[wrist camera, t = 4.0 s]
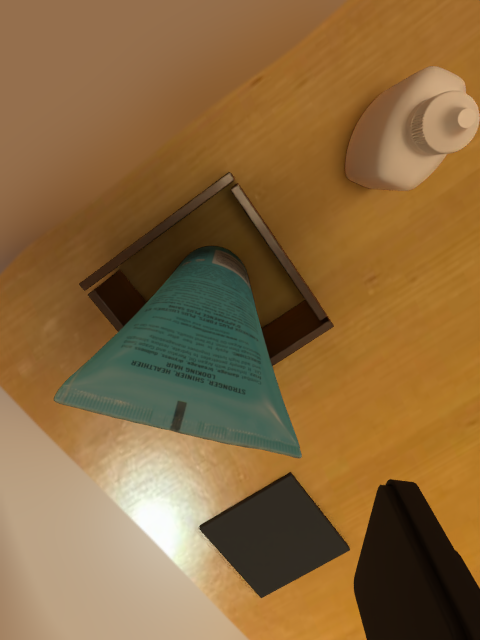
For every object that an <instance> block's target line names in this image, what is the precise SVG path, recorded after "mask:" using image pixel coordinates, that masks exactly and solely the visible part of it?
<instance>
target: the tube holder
mask: <svg viewBox="0 0 480 640" xmlns="http://www.w3.org/2000/svg"><path fill="white" fill-rule="evenodd" d="M234 180H235V178H234V176H233V175H232V173H230V172H228V173H227V174H226V175H224V176H223V177H222V178H220V179H219V180H218V181H216V182H215V183H214V184H212V185H211V186H210V187H208V188H207V189H206V190H204V191H203V192H202V193H200V194H199V195H198V196H196V197H195V198H193V199H192V200H191V201H189V202H188V203H187V204H185V205H184V206H183V207H181V208H180V209H179V210H177V211H176V212H175V213H173V214H172V215H171V216H169V217H168V218H167V219H165V220H164V221H163V222H161V223H160V224H159V225H157V226H156V227H155V228H153V229H152V230H151V231H149V232H148V233H147V234H145V235H144V236H142V237H141V238H140V239H138V240H137V241H136V242H134V243H133V244H132V245H130V246H129V247H128V248H126V249H125V250H124V251H122V252H121V253H120V254H118V255H117V256H116V257H114V258H113V259H112V260H110V261H109V262H108V263H106V264H105V265H104V266H102V267H101V268H100V269H98V270H97V271H95V272H94V273H93V274H91V275H90V276H89V277H87V278H86V279H85V280H83V281H82V282H81V283H79V285H80V286H81V288H82V289H83V290H84V291H85V290H87V289H88V288H89V287H91V286H92V285H94V284H95V283H96V282H98V281H99V280H100V279H102V278H103V277H104V276H106V275H107V274H108V273H110V272H111V271H113V270H114V269H115V268H117V267H118V266H119V265H121V264H122V263H123V262H125V261H126V260H127V259H129V258H130V257H131V256H133V255H134V254H136V253H137V252H138V251H140V250H141V249H142V248H144V247H145V246H146V245H148V244H149V243H150V242H152V241H153V240H154V239H156V238H157V237H159V236H160V235H161V234H163V233H164V232H165V231H167V230H168V229H169V228H171V227H172V226H173V225H175V224H176V223H177V222H179V221H180V220H182V219H183V218H184V217H186V216H187V215H188V214H190V213H191V212H192V211H194V210H195V209H196V208H198V207H199V206H200V205H202V204H203V203H205V202H206V201H207V200H209V199H210V198H211V197H213V196H214V195H215V194H217V193H218V192H219V191H221V190H222V189H223V188H225V187H226V186H228V185H229V184H230V183H232V182H233V181H234ZM231 192H232V193H233V195H234V196H235V198H236V199H237V201H238V202H239V203H240V205H241V206H242V208H243V209H244V211H245V212H246V214H247V215H248V217H249V218H250V220H251V221H252V222H253V224H254V225H255V227H256V228H257V230H258V231H259V233H260V234H261V236H262V237H263V239H264V240H265V241H266V243H267V244H268V246H269V247H270V249H271V250H272V252H273V253H274V255H275V256H276V258H277V259H278V260H279V262H280V263H281V265H282V266H283V268H284V269H285V271H286V272H287V274H288V275H289V277H290V278H291V279H292V281H293V282H294V284H295V285H296V287H297V288H298V290H299V291H300V293H301V294H302V296H303V297H304V298H305V301H303V302H302V303H300V304H299V305H297V306H296V307H294V308H293V309H291V310H290V311H288V312H287V313H285V314H284V315H282V316H281V317H279V318H278V319H276V320H275V321H273V322H272V323H270V324H268V325H267V326H265V327H264V328H262V333H263V337H264V340H265V344H266V347H267V351H268V354H269V357H270V361H271V364H272V366H273V365H275V364H276V363H278V362H280V361H281V360H283V359H284V358H286V357H287V356H289V355H290V354H292V353H294V352H295V351H297V350H298V349H300V348H301V347H303V346H304V345H306V344H308V343H309V342H311V341H312V340H314V339H315V338H317V337H318V336H320V335H321V334H323V333H325V332H326V331H328V330H329V329H331V328H332V327H334V325H333V324H332V322H331V321H330V319H329V318H328V316H327V314H326V313H325V311H324V310H323V308H322V307H321V305H320V304H319V302H318V300H317V299H316V297H315V296H314V295H313V293H312V292H311V290H310V289H309V287H308V286H307V284H306V283H305V281H304V280H303V278H302V277H301V275H300V274H299V272H298V271H297V269H296V268H295V266H294V265H293V263H292V262H291V260H290V259H289V258H288V256H287V255H286V253H285V252H284V250H283V249H282V247H281V246H280V244H279V243H278V241H277V240H276V238H275V237H274V235H273V234H272V232H271V231H270V229H269V228H268V226H267V225H266V224H265V222H264V221H263V219H262V218H261V216H260V215H259V213H258V212H257V210H256V209H255V207H254V206H253V204H252V203H251V201H250V200H249V198H248V197H247V195H246V194H245V192H244V191H243V190H242V188H241V187H240V185H239V184H238V183H237V184H236V185H234V186H233V187H232V188H231ZM88 296H89V297H90V298H91V300H92V301H93V302H94V303H95V305H96V306H97V307H98V308H99V309H100V311H101V312H102V313H103V314H104V315H105V317H106V318H107V319H108V320H109V321H110V323H111V324H112V325H113V326H114V327H115V329H116V330H117V331H118V332H119V331H120V330H121V329H122V328H123V327H124V326H125V325H126V324H127V323H128V322H129V321H130V320H131V319H132V318H133V317H134V316H135V315H136V314H137V312H138V311H139V310H140V309H141V308H142V307H143V306H144V305H145V304H146V302H145V300H144V299H143V298H142V297H141V295H140V294H139V293H138V292H137V290H136V289H135V288H134V286H133V285H132V284H131V283H130V281H129V280H128V279H127V278H126V276H125V275H124V274H123V273H122V271H121V270H119V271H118V272H116V273H115V274H114V275H112V276H111V277H110V278H108V279H107V280H106V281H104V282H103V283H102V284H101V285H99V286H98V287H97V288H95V289H94V290H93V291H92V292H90V293H89V294H88Z"/></svg>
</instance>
